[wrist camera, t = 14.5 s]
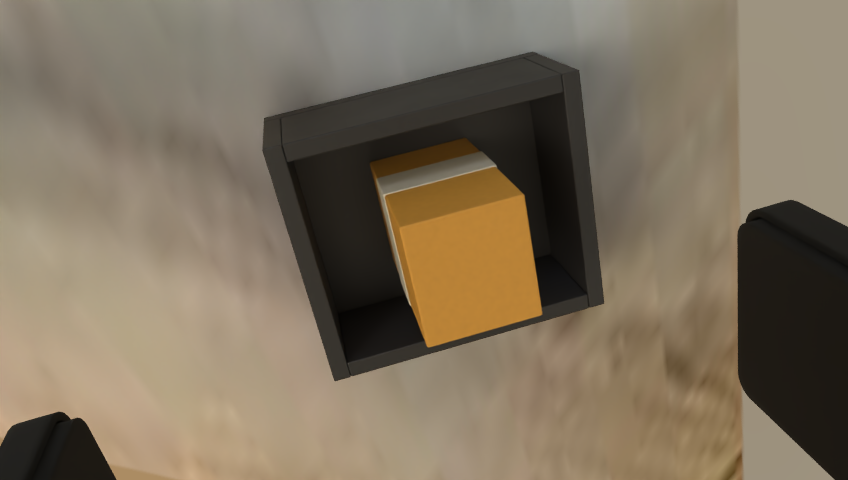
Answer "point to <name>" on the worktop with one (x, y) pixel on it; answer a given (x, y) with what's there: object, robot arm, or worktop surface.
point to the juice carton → (457, 240)
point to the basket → (409, 131)
